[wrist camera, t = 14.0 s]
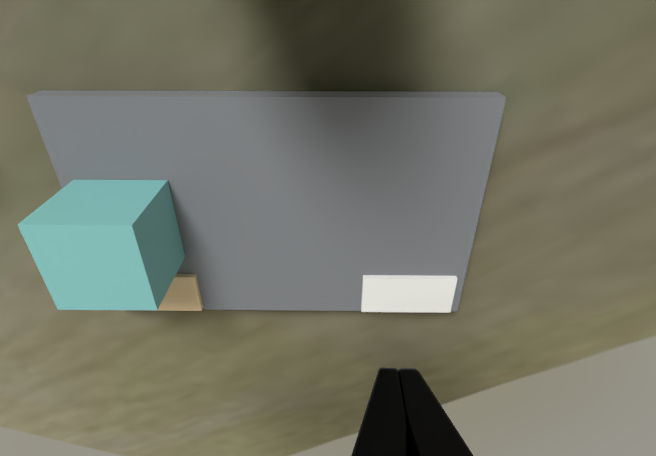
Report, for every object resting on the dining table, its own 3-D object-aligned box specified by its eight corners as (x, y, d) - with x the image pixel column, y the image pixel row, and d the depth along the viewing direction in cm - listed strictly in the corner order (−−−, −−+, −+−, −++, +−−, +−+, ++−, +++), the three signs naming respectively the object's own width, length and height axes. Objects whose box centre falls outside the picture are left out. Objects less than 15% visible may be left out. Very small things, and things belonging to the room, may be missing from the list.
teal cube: (167, 180, 19) (131, 225, 16) (185, 256, 21) (157, 310, 18) (73, 179, 19) (17, 224, 16) (101, 255, 21) (57, 309, 18)
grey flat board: (497, 91, 18) (508, 99, 17) (452, 299, 24) (458, 315, 23) (40, 90, 18) (21, 98, 17) (116, 297, 24) (105, 312, 23)
